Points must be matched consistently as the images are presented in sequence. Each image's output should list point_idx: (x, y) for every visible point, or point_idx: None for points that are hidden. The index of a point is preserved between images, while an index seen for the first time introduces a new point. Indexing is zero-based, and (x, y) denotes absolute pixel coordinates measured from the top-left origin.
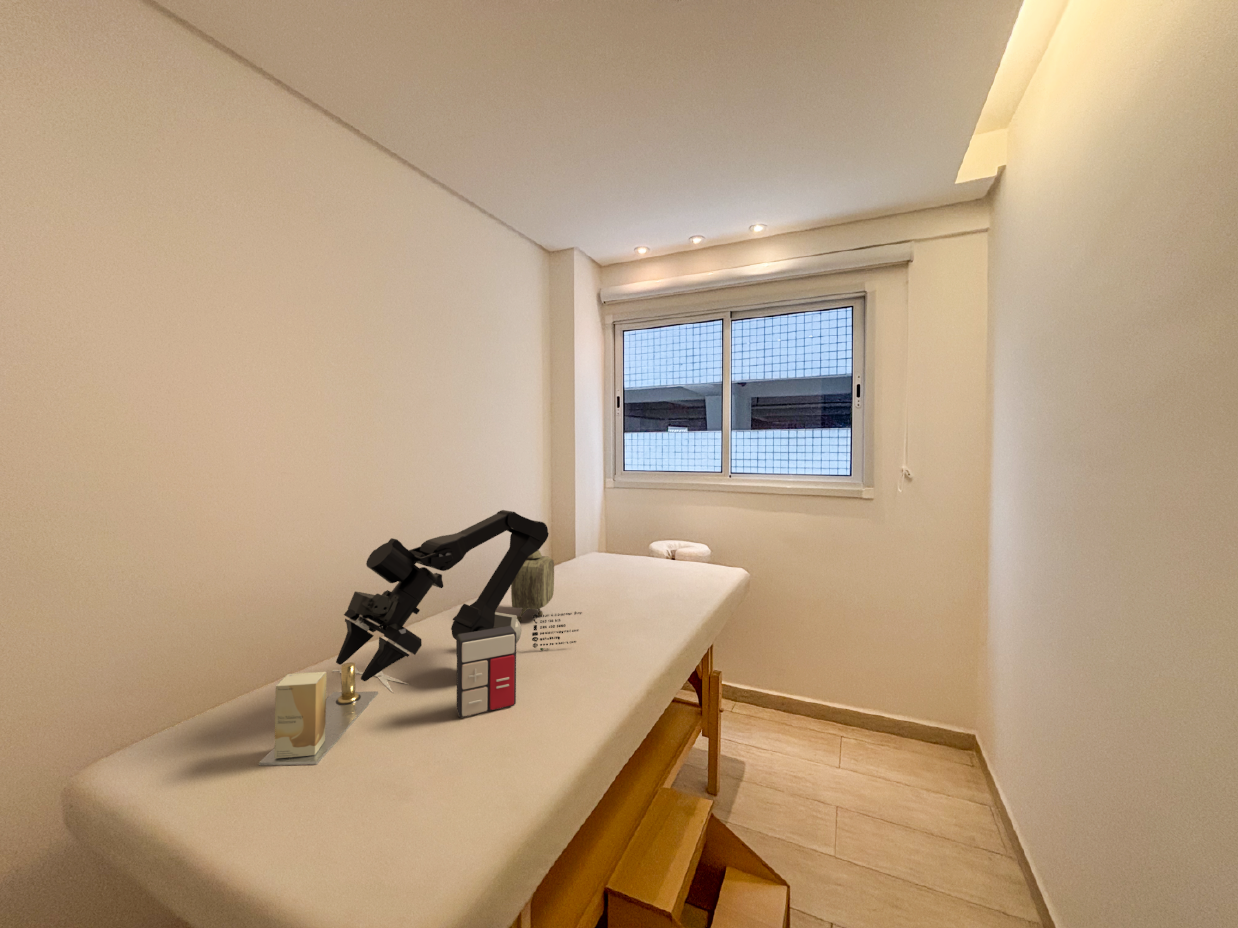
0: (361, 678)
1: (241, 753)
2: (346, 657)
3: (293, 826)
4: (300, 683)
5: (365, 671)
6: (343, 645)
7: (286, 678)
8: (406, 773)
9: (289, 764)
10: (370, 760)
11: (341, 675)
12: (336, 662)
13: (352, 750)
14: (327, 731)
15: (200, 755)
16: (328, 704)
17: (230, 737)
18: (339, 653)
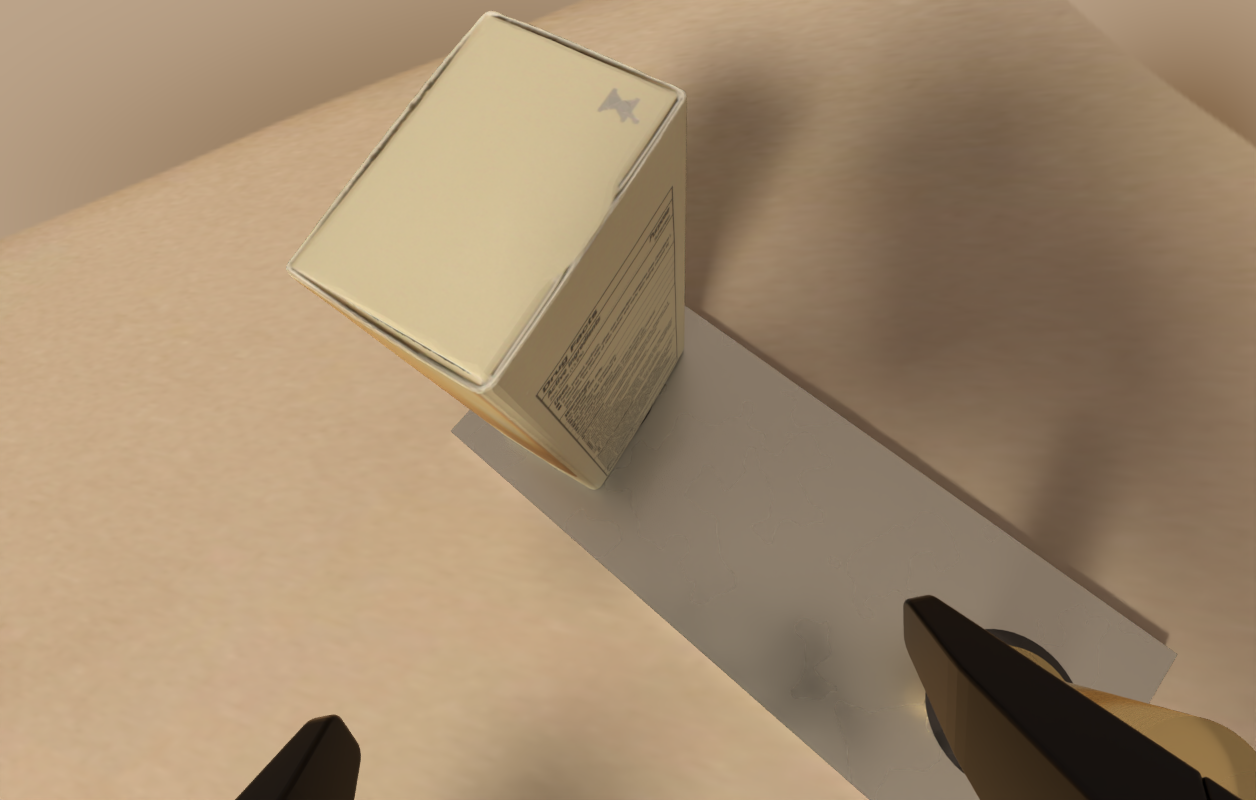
0: (309, 721)
1: (756, 215)
2: (955, 734)
3: (173, 318)
4: (383, 161)
5: (256, 792)
6: (1122, 753)
7: (569, 74)
8: (92, 730)
9: None
10: (310, 627)
11: (1124, 698)
12: (911, 598)
13: (449, 582)
14: (676, 517)
15: (841, 106)
16: (997, 587)
17: (928, 186)
18: (1016, 657)
